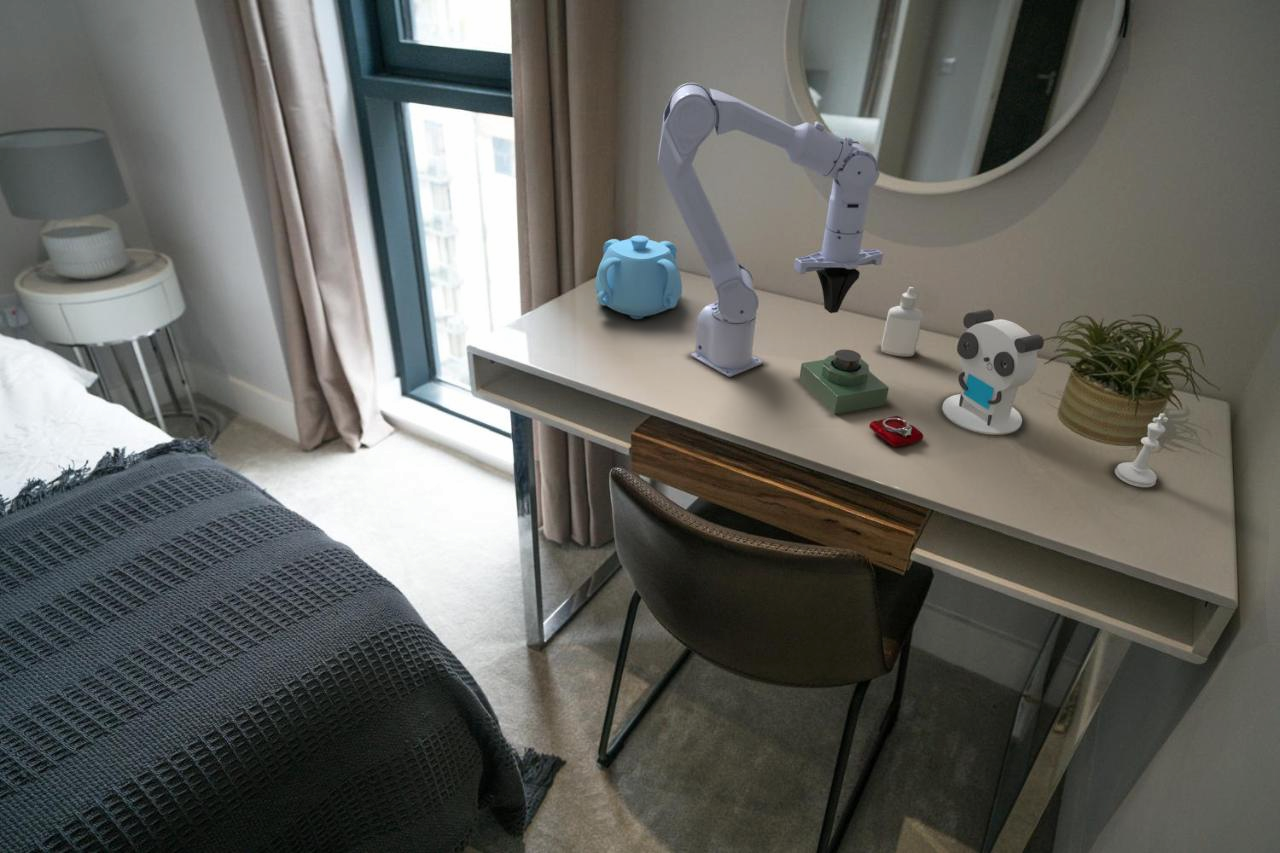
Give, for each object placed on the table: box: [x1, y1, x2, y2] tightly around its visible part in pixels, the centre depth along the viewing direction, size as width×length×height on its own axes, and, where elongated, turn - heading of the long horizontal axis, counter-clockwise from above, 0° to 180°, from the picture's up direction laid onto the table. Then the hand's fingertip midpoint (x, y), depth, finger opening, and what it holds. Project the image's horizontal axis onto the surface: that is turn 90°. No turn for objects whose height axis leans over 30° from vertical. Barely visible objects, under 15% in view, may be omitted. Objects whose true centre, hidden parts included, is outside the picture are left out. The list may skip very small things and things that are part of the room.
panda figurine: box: [941, 308, 1045, 436], centre depth 116 cm, size 12×11×15 cm
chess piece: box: [1114, 412, 1169, 488], centre depth 104 cm, size 5×5×10 cm
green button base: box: [798, 354, 890, 415], centre depth 123 cm, size 11×9×5 cm
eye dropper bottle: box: [880, 286, 923, 358], centre depth 133 cm, size 4×6×12 cm
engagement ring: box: [868, 415, 924, 448], centre depth 113 cm, size 6×6×3 cm
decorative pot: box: [594, 235, 683, 320], centre depth 147 cm, size 16×16×14 cm
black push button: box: [833, 348, 862, 372], centre depth 121 cm, size 4×4×2 cm
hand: (831, 310), depth 127 cm, fingers closed
